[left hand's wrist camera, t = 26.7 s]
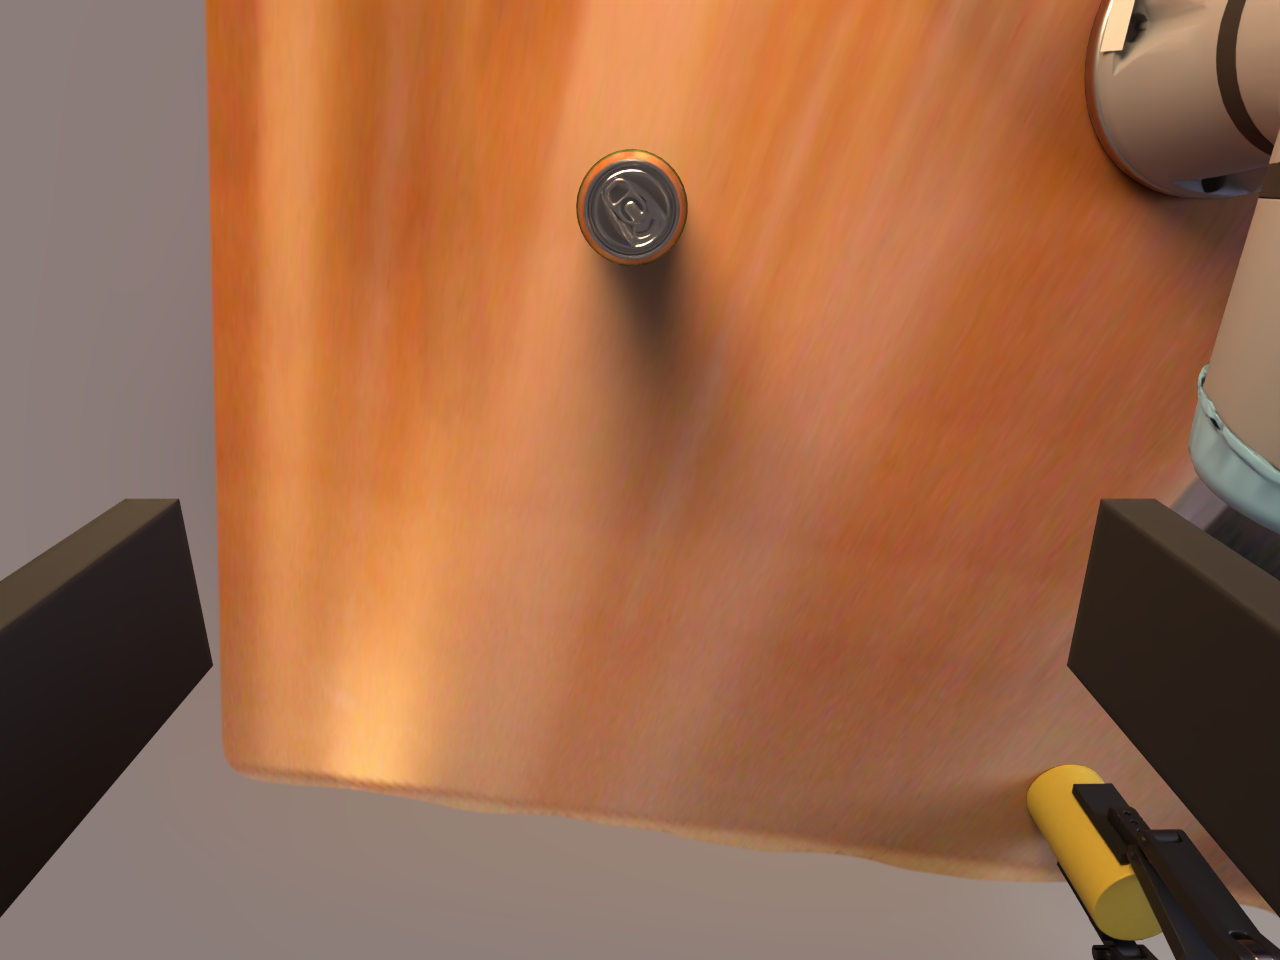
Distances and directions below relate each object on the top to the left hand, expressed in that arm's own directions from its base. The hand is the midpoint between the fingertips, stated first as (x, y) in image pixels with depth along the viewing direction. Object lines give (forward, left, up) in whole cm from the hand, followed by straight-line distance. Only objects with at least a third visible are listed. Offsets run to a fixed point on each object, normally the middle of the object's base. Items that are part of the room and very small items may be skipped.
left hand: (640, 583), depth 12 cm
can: (-1, +50, -41) cm, 65 cm away
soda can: (-2, -3, -41) cm, 41 cm away
